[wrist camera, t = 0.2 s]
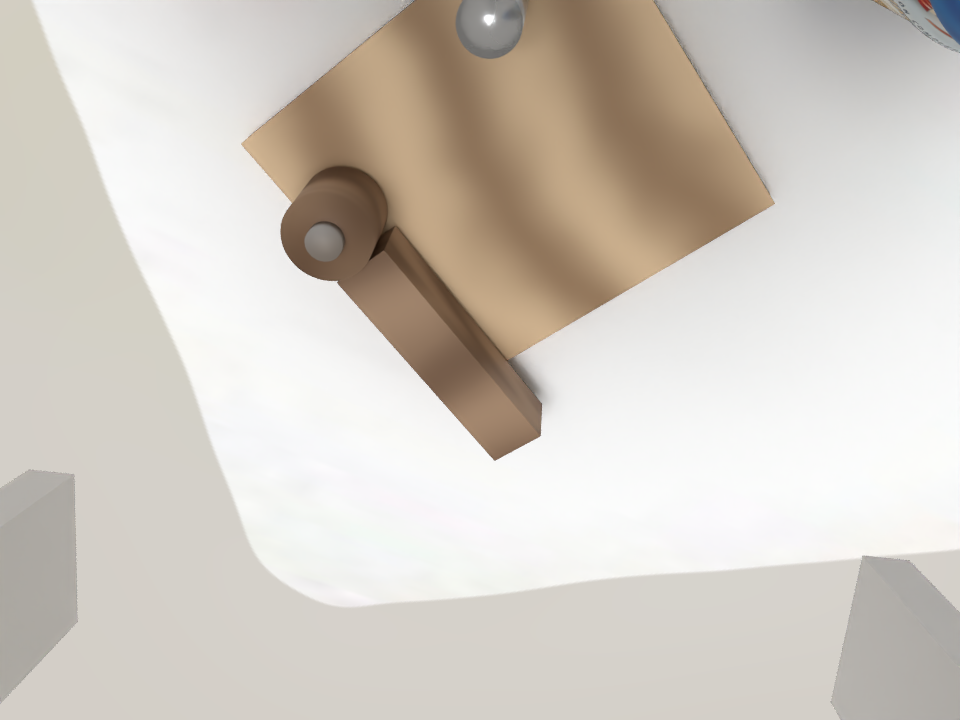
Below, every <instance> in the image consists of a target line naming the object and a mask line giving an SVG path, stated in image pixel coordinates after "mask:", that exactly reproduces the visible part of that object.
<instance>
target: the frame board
mask: <svg viewBox="0 0 960 720" xmlns="http://www.w3.org/2000/svg"><path fill="white" fill-rule="evenodd" d="M462 1H463V0H415V1H414V2H413V3H411V4H410V5H409V6H408V7H406V8H405V9H404V10H403V11H402V12H400V13H399V14H398V15H397V16H395V17H394V18H393V19H392V20H391V21H389V22H388V23H387V24H386V25H385V26H383V27H382V28H381V29H380V30H378V31H377V32H376V33H375V34H374V35H372V36H371V37H370V38H369V39H367V40H366V41H365V42H364V43H363V44H361V45H360V46H359V47H358V48H356V49H355V50H354V51H353V52H352V53H350V54H349V55H348V56H347V57H345V58H344V59H343V60H342V61H341V62H339V63H338V64H337V65H336V66H335V67H333V68H332V69H331V70H330V71H328V72H327V73H326V74H325V75H324V76H322V77H321V78H320V79H319V80H317V81H316V82H315V83H314V84H313V85H311V86H310V87H309V88H308V89H306V90H305V91H304V92H303V93H302V94H300V95H299V96H298V97H297V98H296V99H294V100H293V101H292V102H291V103H289V104H288V105H287V106H286V107H285V108H283V109H282V110H281V111H280V112H278V113H277V114H276V115H275V116H274V117H272V118H271V119H270V120H269V121H267V122H266V123H265V124H264V125H263V126H261V127H260V128H259V129H258V130H257V131H255V132H254V133H253V134H252V135H250V136H249V137H248V138H247V139H246V140H245V141H244V142H243V143H242V144H241V145H242V146H243V147H244V148H245V149H246V150H247V151H248V153H249V154H250V155H251V156H252V157H253V158H254V160H255V161H256V162H257V163H258V164H259V165H260V166H261V168H262V169H263V170H264V171H265V172H266V173H267V174H268V176H269V177H270V178H271V179H272V180H273V181H274V182H275V184H276V185H277V186H278V187H279V188H280V189H281V191H282V192H283V193H284V194H285V195H286V196H287V197H288V199H289V200H290V201H291V202H292V203H293V202H294V200H295V199H296V198H297V197H298V195H299V194H300V193H301V191H302V190H303V189H304V187H305V186H306V185H307V183H308V182H309V181H310V180H311V178H312V177H313V176H315V175H316V174H317V173H319V172H320V171H322V170H324V169H327V168H331V167H349V168H353V169H356V170H359V171H361V172H363V173H364V174H366V175H367V176H369V177H370V178H371V179H372V180H373V181H374V182H375V183H376V184H377V185H378V186H379V188H380V189H381V191H382V193H383V194H384V197H385V200H386V203H387V210H388V212H387V221H386V224H385V227H384V229H383V231H382V233H381V235H383V234H384V233H385V232H387V231H388V230H390V229H391V228H393V227H394V226H396V227H397V228H398V230H399V231H400V232H401V233H402V235H403V236H404V237H405V238H406V239H407V241H408V242H409V243H410V244H411V245H412V247H413V248H414V249H415V250H416V252H417V253H418V254H419V255H420V256H421V258H422V259H423V260H424V261H425V262H426V264H427V265H428V266H429V267H430V269H431V270H432V271H433V272H434V273H435V275H436V276H437V277H438V278H439V279H440V281H441V282H442V283H443V284H444V286H445V287H446V288H447V289H448V290H449V292H450V293H451V294H452V295H453V296H454V298H455V299H456V300H457V301H458V303H459V304H460V305H461V306H462V307H463V309H464V310H465V311H466V312H467V314H468V315H469V316H470V317H471V318H472V320H473V321H474V322H475V323H476V324H477V326H478V327H479V328H480V329H481V331H482V332H483V333H484V334H485V335H486V337H487V338H488V339H489V340H490V341H491V343H492V344H493V345H494V346H495V348H496V349H497V350H498V351H499V352H500V354H501V355H502V356H503V357H504V358H505V360H506V361H507V360H509V359H511V358H512V357H514V356H516V355H518V354H519V353H521V352H523V351H524V350H526V349H528V348H530V347H531V346H533V345H535V344H536V343H538V342H540V341H541V340H543V339H545V338H547V337H548V336H550V335H552V334H553V333H555V332H557V331H559V330H560V329H562V328H564V327H565V326H567V325H569V324H571V323H572V322H574V321H576V320H577V319H579V318H581V317H582V316H584V315H586V314H588V313H589V312H591V311H593V310H594V309H596V308H598V307H600V306H601V305H603V304H605V303H606V302H608V301H610V300H612V299H613V298H615V297H617V296H618V295H620V294H622V293H623V292H625V291H627V290H629V289H630V288H632V287H634V286H635V285H637V284H639V283H641V282H642V281H644V280H646V279H647V278H649V277H651V276H652V275H654V274H656V273H658V272H659V271H661V270H663V269H664V268H666V267H668V266H670V265H671V264H673V263H675V262H676V261H678V260H680V259H682V258H683V257H685V256H687V255H688V254H690V253H692V252H693V251H695V250H697V249H699V248H700V247H702V246H704V245H705V244H707V243H709V242H711V241H712V240H714V239H716V238H717V237H719V236H721V235H722V234H724V233H726V232H728V231H729V230H731V229H733V228H734V227H736V226H738V225H740V224H741V223H743V222H745V221H746V220H748V219H750V218H752V217H753V216H755V215H757V214H758V213H760V212H762V211H763V210H765V209H767V208H769V207H770V206H772V205H774V204H775V203H774V201H773V199H772V198H771V196H770V194H769V192H768V191H767V189H766V187H765V186H764V184H763V182H762V181H761V179H760V177H759V176H758V174H757V172H756V171H755V169H754V167H753V166H752V164H751V162H750V161H749V159H748V157H747V156H746V154H745V152H744V151H743V149H742V147H741V146H740V144H739V142H738V141H737V139H736V137H735V136H734V134H733V132H732V131H731V129H730V127H729V126H728V124H727V122H726V121H725V119H724V117H723V116H722V114H721V112H720V111H719V109H718V107H717V106H716V104H715V102H714V101H713V99H712V97H711V96H710V94H709V92H708V91H707V89H706V87H705V86H704V84H703V82H702V81H701V79H700V77H699V76H698V74H697V72H696V71H695V69H694V67H693V66H692V64H691V62H690V61H689V59H688V57H687V56H686V54H685V52H684V51H683V49H682V47H681V46H680V44H679V42H678V40H677V39H676V37H675V35H674V34H673V32H672V30H671V29H670V27H669V25H668V24H667V22H666V20H665V19H664V17H663V15H662V14H661V12H660V10H659V9H658V7H657V5H656V4H655V2H654V0H528V9H527V13H526V17H525V21H524V26H523V30H522V34H521V37H520V39H519V41H518V43H517V44H516V46H515V47H514V48H513V49H512V50H511V51H510V52H509V53H507V54H506V55H504V56H502V57H499V58H494V59H485V58H480V57H478V56H475V55H474V54H472V53H470V52H469V51H468V50H467V49H466V48H465V47H464V46H463V45H462V43H461V41H460V39H459V37H458V34H457V31H456V15H457V11H458V8H459V6H460V4H461V3H462ZM381 235H380V236H381Z"/></svg>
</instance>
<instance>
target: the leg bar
mask: <svg viewBox="0 0 960 720" xmlns="http://www.w3.org/2000/svg"><path fill="white" fill-rule="evenodd" d="M387 212H388V210H387V203H386V200H385V197H384V194H383V193H382V191H381V189H380V188H379V186H378V185H377V184H376V183H375V182H374V181H373V180H372V179H371V178H370V177H369V176H367V175H366V174H364V173H363V172H361V171H359V170H356V169H353V168H349V167H331V168H327V169H324V170H322V171H320V172H319V173H317V174H316V175H315V176H313V177H312V178H311V180H310V181H309V182H308V183H307V185H306V186H305V187H304V189H303V190H302V191H301V193H300V194H299V195H298V197H297V198H296V199H295V200H294V202H293V203H292V204H291V206H290V207H289V208H288V210H287V211H286V213H285V215H284V217H283V219H282V223H281V240H282V244H283V247H284V250H285V252H286V254H287V255H288V257H289V258H290V260H291V261H292V262H293V263H294V264H295V265H296V266H297V267H298V268H299V269H300V270H302V271H303V272H305V273H306V274H308V275H310V276H312V277H315V278H318V279H321V280H327V281H338V282H337V283H338V284H339V286H340V287H341V288H342V289H343V290H344V291H345V292H346V293H347V295H348V296H349V297H350V298H351V299H352V300H353V301H354V303H355V304H356V305H357V306H358V307H359V308H360V309H361V310H362V312H363V313H364V314H365V315H366V316H367V317H368V318H369V319H370V321H371V322H372V323H373V324H374V325H375V326H376V327H377V329H378V330H379V331H380V332H381V333H382V334H383V335H384V336H385V338H386V339H387V340H388V341H389V342H390V343H391V344H392V345H393V347H394V348H395V349H396V350H397V351H398V352H399V353H400V354H401V356H402V357H403V358H404V359H405V360H406V361H407V362H408V364H409V365H410V366H411V367H412V368H413V369H414V370H415V371H416V373H417V374H418V375H419V376H420V377H421V378H422V379H423V380H424V382H425V383H426V384H427V385H428V386H429V387H430V388H431V390H432V391H433V392H434V393H435V394H436V395H437V396H438V397H439V399H440V400H441V401H442V402H443V403H444V404H445V405H446V406H447V408H448V409H449V410H450V411H451V412H452V413H453V414H454V415H455V417H456V418H457V419H458V420H459V421H460V422H461V423H462V425H463V426H464V427H465V428H466V429H467V430H468V431H469V432H470V434H471V435H472V436H473V437H474V438H475V439H476V440H477V441H478V443H479V444H480V445H481V446H482V447H483V448H484V449H485V451H486V452H487V453H488V454H489V455H490V456H491V457H492V458H493V460H494V461H495V460H497V459H499V458H501V457H503V456H504V455H506V454H508V453H510V452H512V451H514V450H516V449H518V448H519V447H521V446H523V445H525V444H527V443H529V442H531V441H533V440H534V439H536V438H538V437H540V436H541V415H542V403H541V402H540V401H539V400H538V399H537V397H536V396H535V395H534V394H533V392H532V391H531V390H530V389H529V388H528V386H527V385H526V384H525V383H524V382H523V380H522V379H521V378H520V377H519V375H518V374H517V373H516V372H515V371H514V369H513V368H512V367H511V366H510V365H509V363H508V362H507V361H506V360H505V358H504V357H503V356H502V355H501V354H500V352H499V351H498V350H497V349H496V348H495V346H494V345H493V344H492V343H491V341H490V340H489V339H488V338H487V337H486V335H485V334H484V333H483V332H482V331H481V329H480V328H479V327H478V326H477V324H476V323H475V322H474V321H473V320H472V318H471V317H470V316H469V315H468V314H467V312H466V311H465V310H464V309H463V307H462V306H461V305H460V304H459V303H458V301H457V300H456V299H455V298H454V296H453V295H452V294H451V293H450V292H449V290H448V289H447V288H446V287H445V286H444V284H443V283H442V282H441V281H440V279H439V278H438V277H437V276H436V275H435V273H434V272H433V271H432V270H431V269H430V267H429V266H428V265H427V264H426V262H425V261H424V260H423V259H422V258H421V256H420V255H419V254H418V253H417V252H416V250H415V249H414V248H413V247H412V245H411V244H410V243H409V242H408V241H407V239H406V238H405V237H404V236H403V235H402V233H401V232H400V231H399V230H398V228H397V227H396V226H394V227H393V228H391V229H390V230H388V231H387V232H385V233H384V234H383V235H381V233H382V231H383V229H384V227H385V224H386V221H387ZM380 235H381V236H380Z"/></svg>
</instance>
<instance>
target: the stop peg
mask: <svg viewBox="0 0 960 720" xmlns="http://www.w3.org/2000/svg"><path fill="white" fill-rule="evenodd" d="M527 9H528V0H463V1H462V3H461V4H460V6H459V8H458V11H457V15H456V31H457V34H458V37H459V39H460V41H461V43H462V45H463V46H464V47H465V48H466V49H467V50H468V51H469V52H470V53H472V54H474V55H475V56H478V57H480V58H485V59H494V58H499V57H502V56H504V55H506V54H507V53H509V52H510V51H511V50H512V49H513V48H514V47H515V46H516V44H517V43H518V41H519V39H520V37H521V34H522V30H523V26H524V21H525V17H526V13H527Z"/></svg>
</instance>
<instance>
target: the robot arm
mask: <svg viewBox="0 0 960 720" xmlns="http://www.w3.org/2000/svg"><path fill="white" fill-rule="evenodd" d="M74 485H75V484H74V474H67V473H57V472H47V471H37V470H28V471H26V472H25V473H23V474H22V475H20V476H18V477H17V478H15V479H14V480H12V481H11V482H9V483H8V484H6V485H5V486H3V487H2V488H0V704H1V703H2V701H3V700H4V699H5V698H6V697H7V696H8V695H9V694H10V693H11V692H12V691H13V690H14V688H16V687H17V686H18V685H19V683H20V682H21V681H22V680H23V679H24V678H25V677H26V676H27V675H28V674H29V673H30V671H32V670H33V669H34V668H35V666H36V665H37V664H38V663H39V662H40V661H41V660H42V659H43V658H44V657H45V656H46V655H47V654H48V653H49V652H50V651H51V650H52V648H53V647H54V646H55V645H56V644H57V643H58V642H59V641H60V640H61V639H62V638H63V637H64V636H65V635H66V634H67V632H68V631H69V630H70V629H71V628H72V627H73V626H74V625H75V624H76V623H77V622H78V619H77V618H78V617H77V574H76V528H75V486H74ZM831 703H832V705H833V707H834V709H835V710H836V712H837V714H838V715H839V717H840V719H841V720H960V612H959V611H958V610H957V609H956V608H955V607H954V606H953V605H952V604H951V603H950V602H949V601H948V600H947V599H946V598H945V597H944V596H943V595H942V594H941V593H940V592H939V591H938V590H937V588H935V586H934V585H933V584H932V583H931V582H930V581H929V580H928V579H927V578H926V577H925V576H924V575H923V574H922V573H921V572H920V571H919V570H918V569H917V568H916V567H915V566H914V565H913V564H912V563H911V562H910V561H909V560H900V559H891V558H881V557H871V556H862V560H861V565H860V570H859V574H858V579H857V584H856V589H855V593H854V598H853V602H852V607H851V611H850V616H849V620H848V625H847V630H846V634H845V639H844V643H843V648H842V653H841V657H840V662H839V666H838V671H837V676H836V680H835V685H834V690H833V694H832V699H831Z"/></svg>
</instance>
